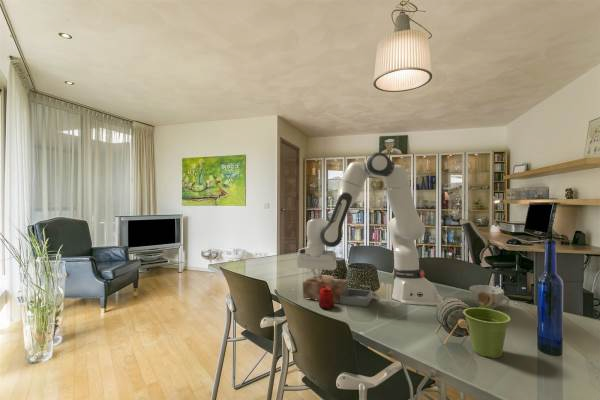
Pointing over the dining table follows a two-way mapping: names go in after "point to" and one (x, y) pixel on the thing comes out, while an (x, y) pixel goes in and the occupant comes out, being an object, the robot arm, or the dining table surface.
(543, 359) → the dining table surface
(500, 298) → the teacup
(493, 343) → the plant pot
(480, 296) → the snail figurine
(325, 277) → the tile
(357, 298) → the box
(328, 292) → the red clay folk toy
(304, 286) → the brown rectangular box
